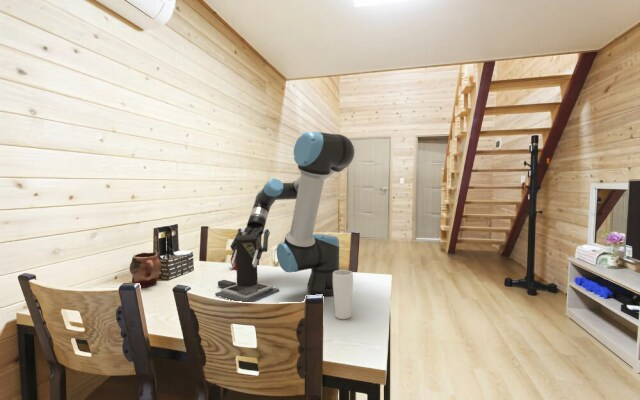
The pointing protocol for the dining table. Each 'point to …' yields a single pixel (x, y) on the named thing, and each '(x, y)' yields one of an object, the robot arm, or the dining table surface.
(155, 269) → the decorative planter
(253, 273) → the container
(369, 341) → the dining table surface
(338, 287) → the drinking glass
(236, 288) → the base
